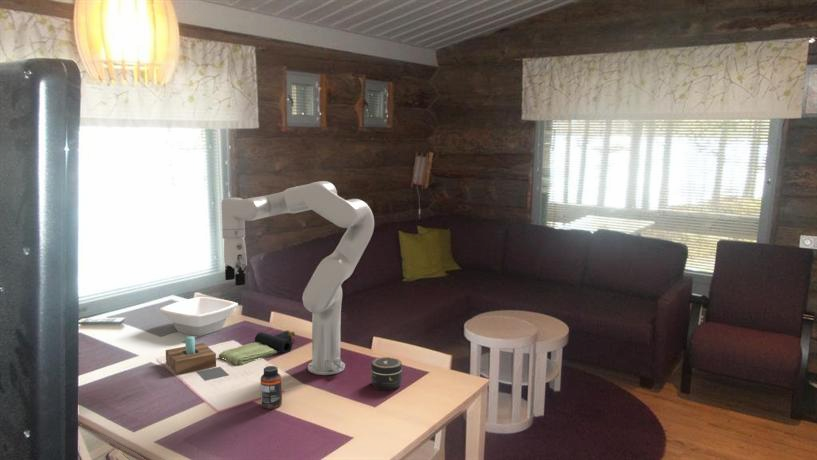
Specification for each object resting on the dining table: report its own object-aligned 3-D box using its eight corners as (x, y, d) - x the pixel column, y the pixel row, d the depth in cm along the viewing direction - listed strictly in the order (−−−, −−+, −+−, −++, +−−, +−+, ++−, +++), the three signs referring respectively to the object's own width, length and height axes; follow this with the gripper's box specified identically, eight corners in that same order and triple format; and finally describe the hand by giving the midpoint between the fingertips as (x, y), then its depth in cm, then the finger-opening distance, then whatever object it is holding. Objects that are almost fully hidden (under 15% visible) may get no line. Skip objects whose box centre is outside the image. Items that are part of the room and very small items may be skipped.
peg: (196, 366, 198) (195, 338, 197) (187, 368, 196) (186, 339, 195) (194, 363, 200) (193, 335, 199) (185, 365, 199) (184, 337, 197)
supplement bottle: (273, 399, 173) (272, 362, 172) (286, 404, 170) (285, 367, 168) (256, 405, 169) (256, 368, 167) (269, 411, 165) (268, 373, 163)
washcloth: (279, 355, 211) (279, 346, 211) (238, 368, 198) (238, 359, 197) (257, 347, 219) (256, 339, 219) (216, 359, 206) (215, 351, 205)
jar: (376, 393, 179) (376, 369, 178) (366, 381, 188) (366, 358, 187) (406, 388, 182) (406, 365, 181) (395, 377, 192) (395, 355, 190)
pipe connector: (277, 326, 228) (304, 333, 219) (278, 338, 229) (304, 346, 220) (254, 333, 219) (281, 341, 210) (255, 347, 220) (282, 355, 211)
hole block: (216, 367, 197) (215, 353, 196) (176, 375, 189) (176, 361, 189) (204, 356, 207) (203, 343, 207) (166, 363, 200) (165, 350, 199)
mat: (229, 376, 190) (229, 375, 190) (204, 381, 185) (204, 380, 185) (220, 367, 197) (220, 366, 197) (196, 372, 192) (196, 371, 192)
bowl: (199, 318, 254) (199, 295, 253) (244, 326, 243) (243, 302, 242) (154, 333, 233) (153, 308, 231) (200, 343, 222) (199, 317, 220)
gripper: (254, 235, 194) (255, 285, 196) (235, 229, 207) (236, 276, 210) (232, 237, 189) (233, 288, 192) (214, 231, 203) (216, 279, 205)
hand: (235, 282), depth 201 cm, fingers open, 9 cm apart
